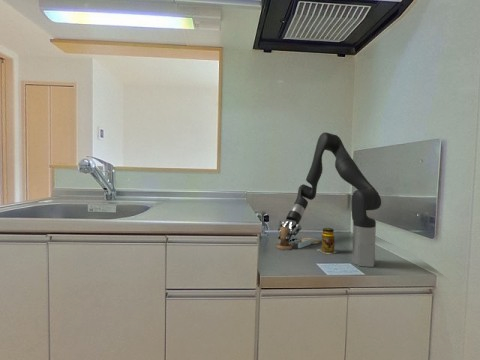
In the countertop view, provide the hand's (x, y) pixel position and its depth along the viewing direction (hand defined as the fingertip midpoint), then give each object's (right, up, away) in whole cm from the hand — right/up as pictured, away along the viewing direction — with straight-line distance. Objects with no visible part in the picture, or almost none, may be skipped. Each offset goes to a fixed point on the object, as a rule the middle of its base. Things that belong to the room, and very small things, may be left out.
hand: (282, 239), depth 146 cm
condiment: (+22, -5, -5) cm, 23 cm away
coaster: (+18, -4, +13) cm, 22 cm away
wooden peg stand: (+1, -5, +1) cm, 5 cm away
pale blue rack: (+9, -4, +9) cm, 14 cm away
